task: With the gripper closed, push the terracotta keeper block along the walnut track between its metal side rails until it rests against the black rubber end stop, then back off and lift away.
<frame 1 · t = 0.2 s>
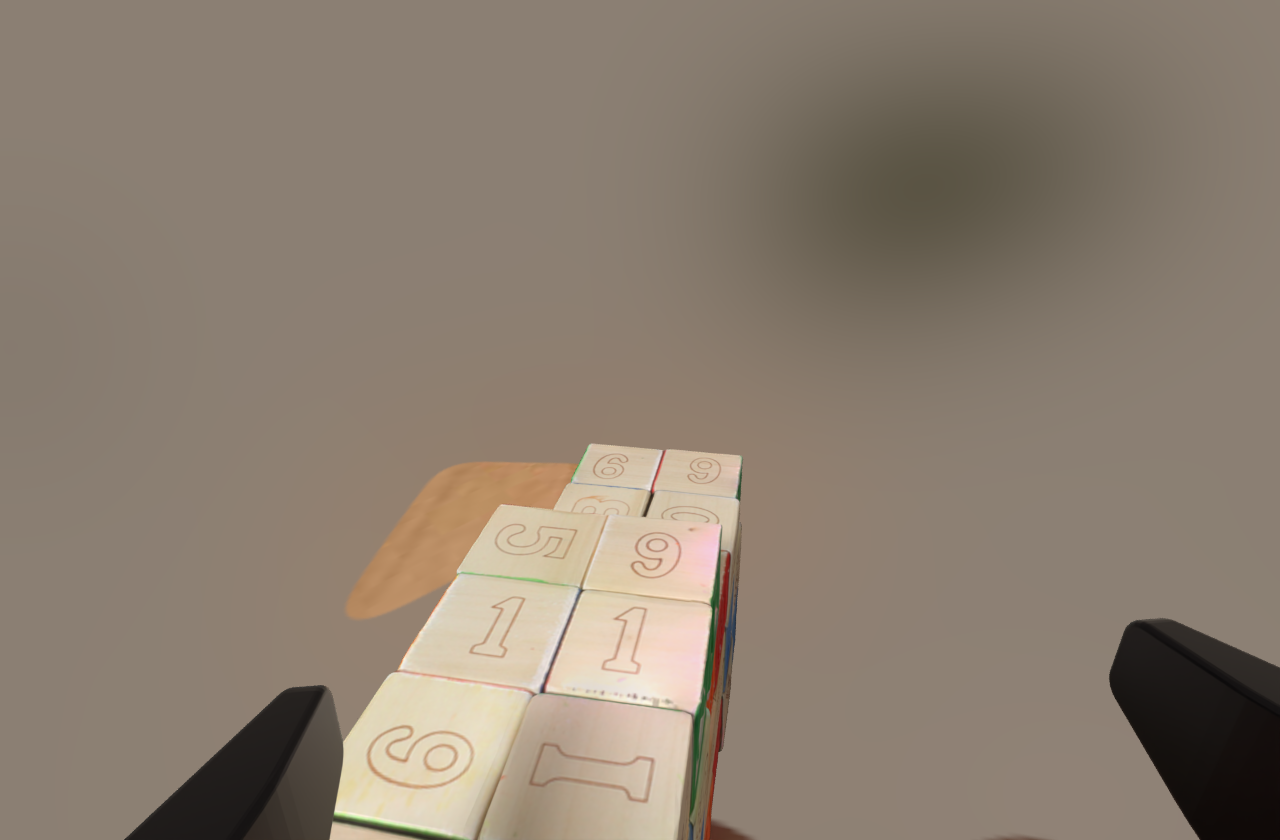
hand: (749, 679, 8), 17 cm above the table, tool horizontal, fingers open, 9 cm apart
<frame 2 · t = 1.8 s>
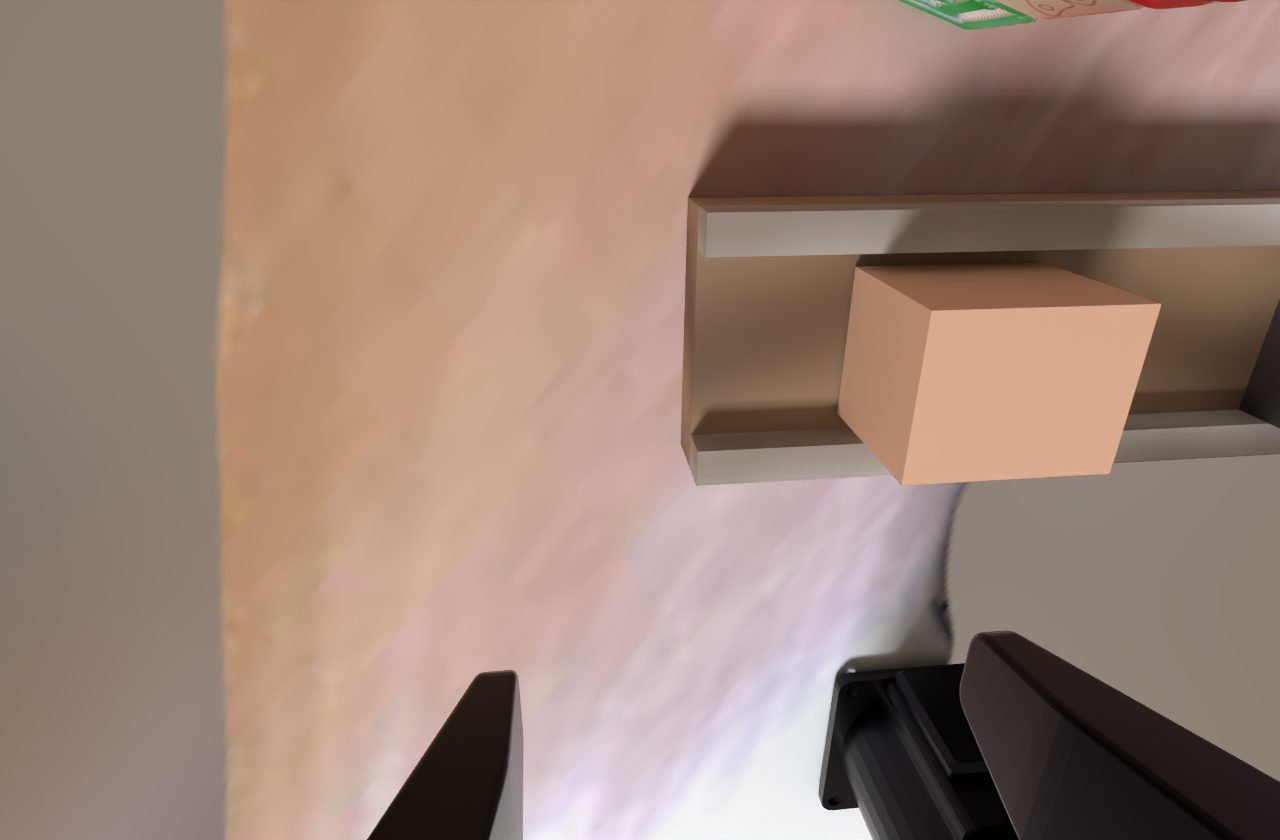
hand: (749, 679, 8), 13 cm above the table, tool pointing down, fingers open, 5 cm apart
keeper block: (977, 366, 17), point 4 cm above the table, slide at 0.0 cm
track: (993, 319, 21), on the table
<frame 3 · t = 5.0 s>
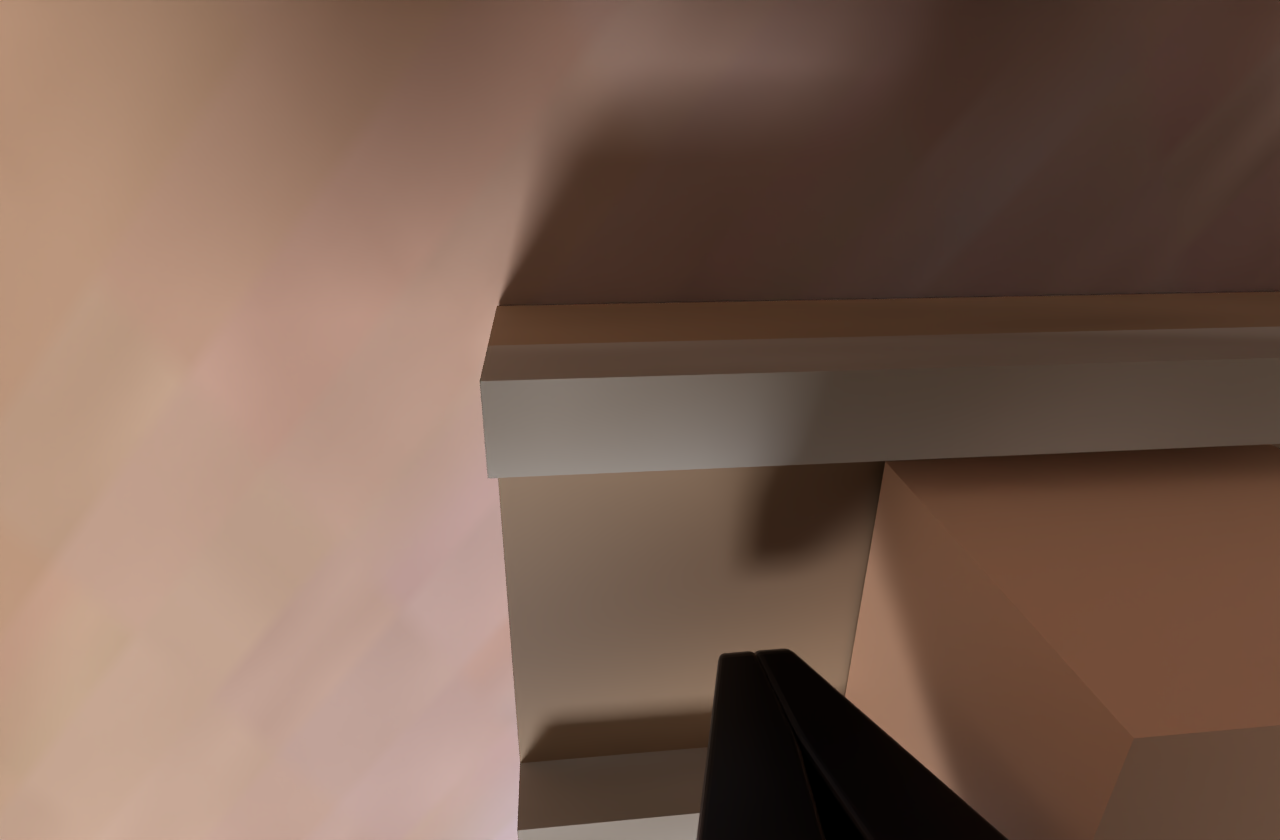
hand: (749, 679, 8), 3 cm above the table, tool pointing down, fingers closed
keeper block: (1158, 704, 8), point 4 cm above the table, slide at 0.5 cm, touching gripper
track: (1103, 515, 11), on the table
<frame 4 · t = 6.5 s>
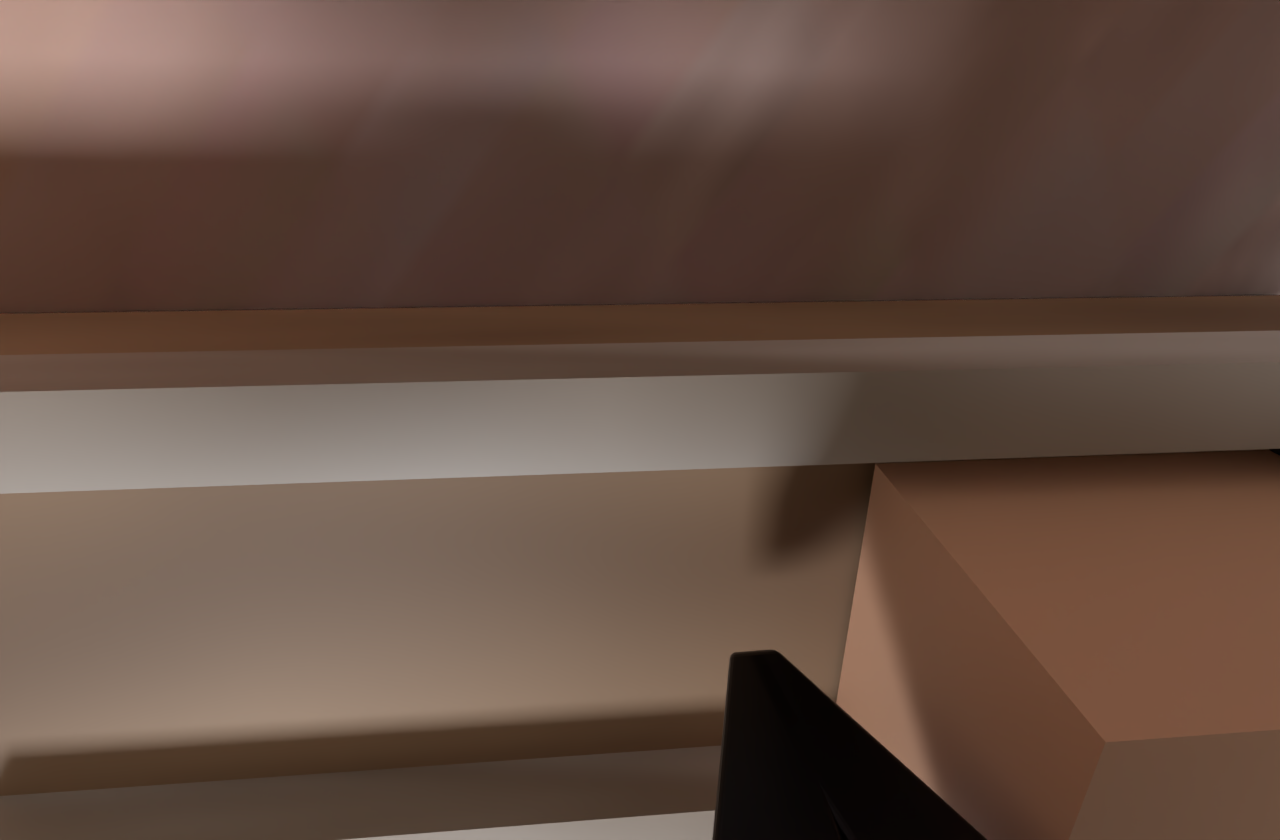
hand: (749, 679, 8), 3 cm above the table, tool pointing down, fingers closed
keeper block: (1147, 709, 8), point 4 cm above the table, slide at 7.2 cm, touching gripper
track: (668, 539, 11), on the table
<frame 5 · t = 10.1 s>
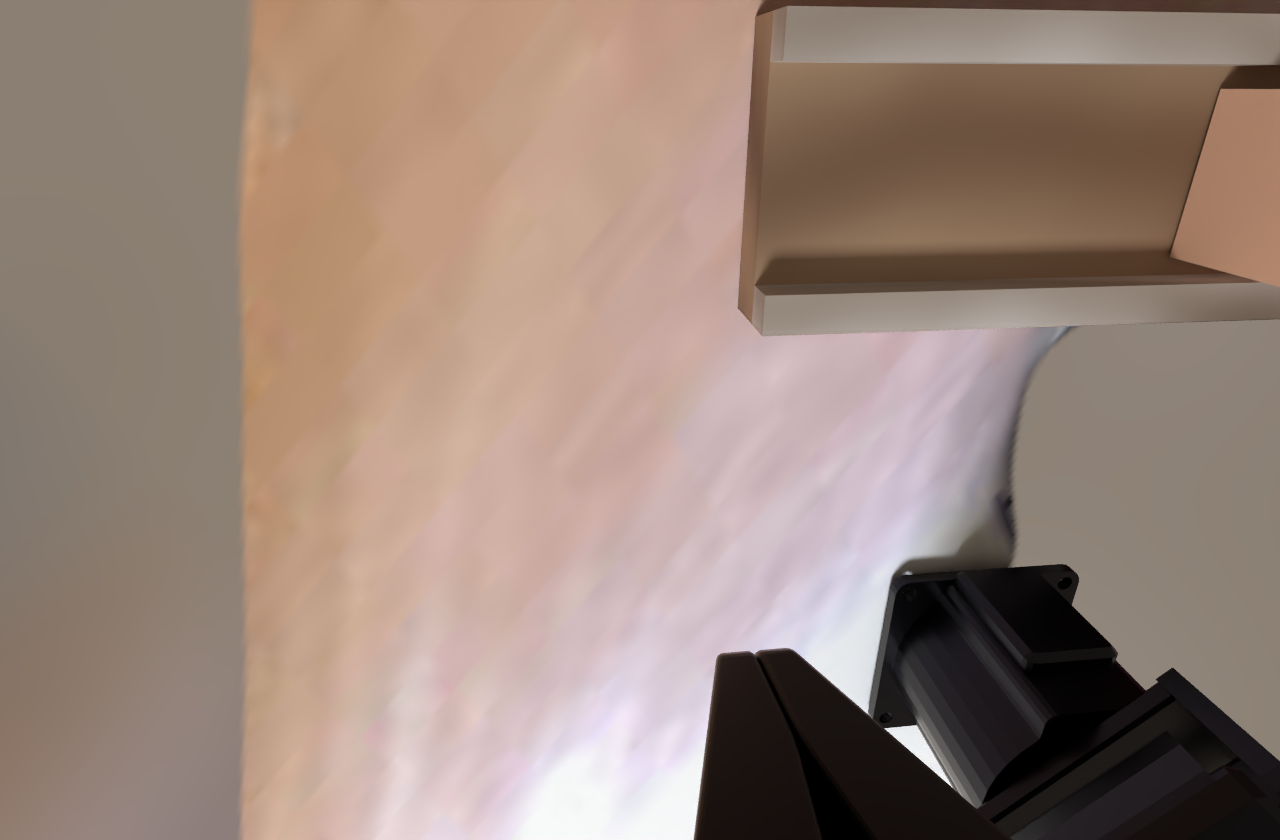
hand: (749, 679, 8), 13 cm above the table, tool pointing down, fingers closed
track: (1076, 170, 19), on the table
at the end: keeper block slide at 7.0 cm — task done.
